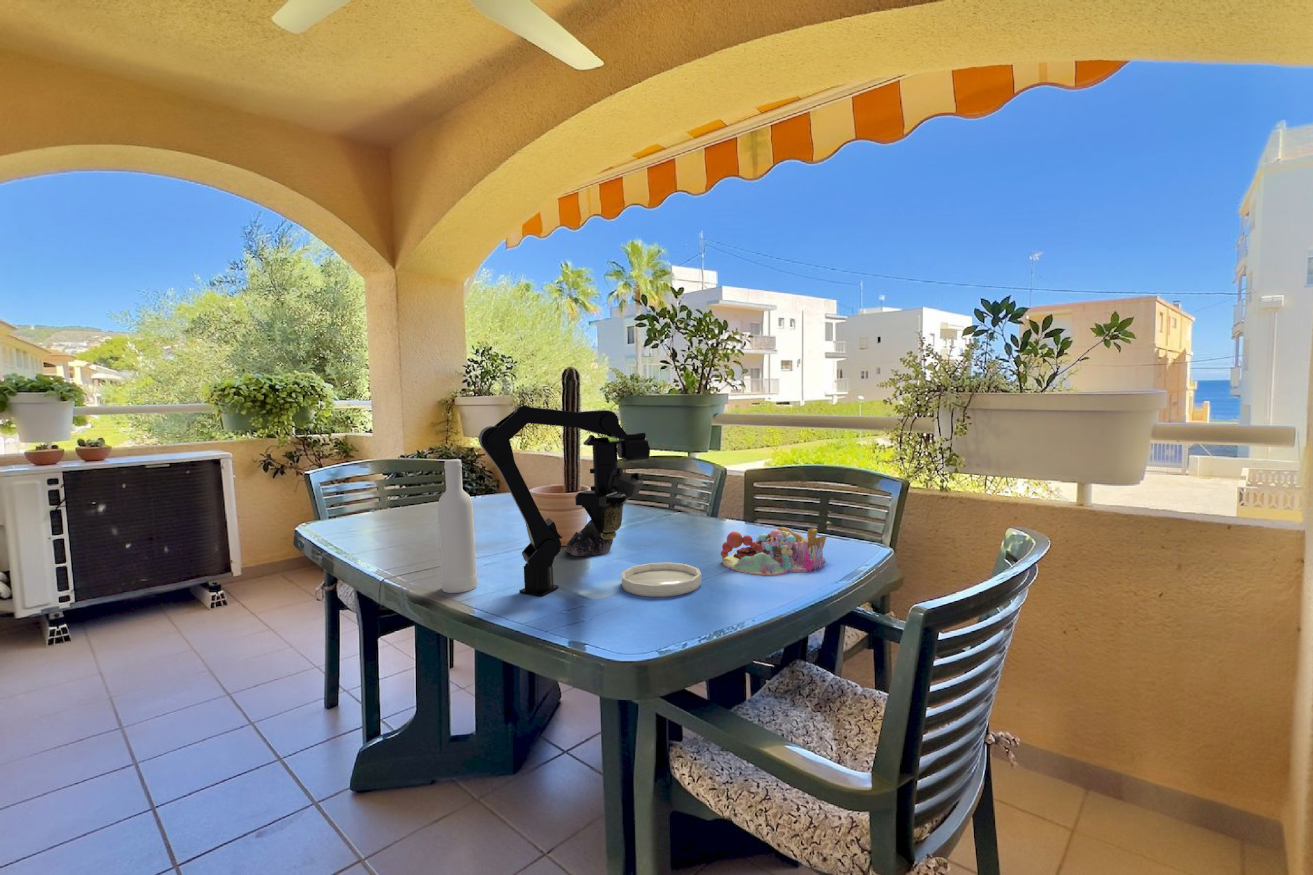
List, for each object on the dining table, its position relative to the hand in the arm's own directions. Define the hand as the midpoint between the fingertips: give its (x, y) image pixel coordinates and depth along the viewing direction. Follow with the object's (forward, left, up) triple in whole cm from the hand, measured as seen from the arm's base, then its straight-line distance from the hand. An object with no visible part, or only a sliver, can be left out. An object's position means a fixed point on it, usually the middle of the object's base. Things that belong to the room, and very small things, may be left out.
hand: (608, 529), depth 142 cm
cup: (0, 0, -2) cm, 2 cm away
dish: (+1, -13, -12) cm, 18 cm away
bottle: (-18, +30, -12) cm, 37 cm away
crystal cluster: (+22, +20, -13) cm, 32 cm away
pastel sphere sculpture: (+28, -32, -13) cm, 45 cm away
